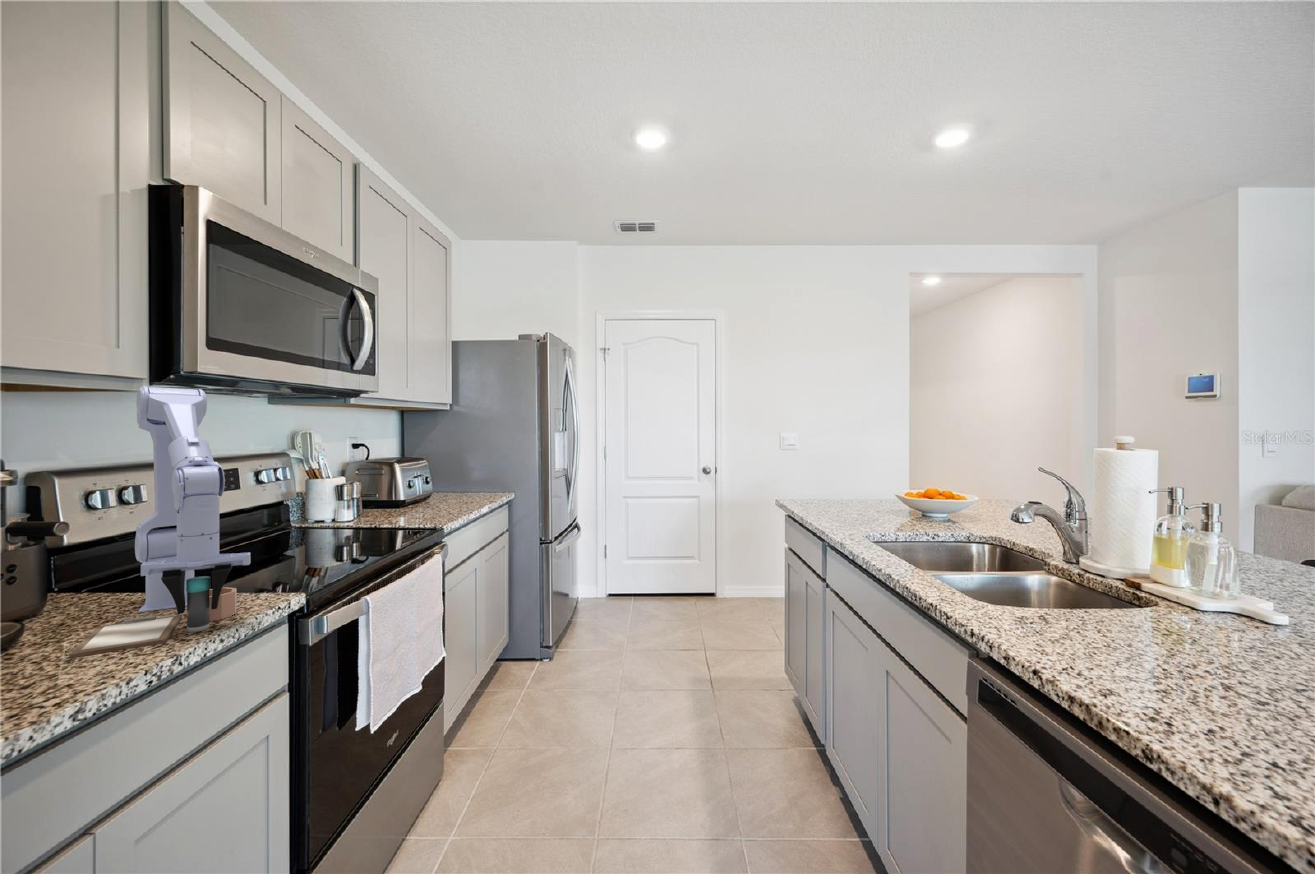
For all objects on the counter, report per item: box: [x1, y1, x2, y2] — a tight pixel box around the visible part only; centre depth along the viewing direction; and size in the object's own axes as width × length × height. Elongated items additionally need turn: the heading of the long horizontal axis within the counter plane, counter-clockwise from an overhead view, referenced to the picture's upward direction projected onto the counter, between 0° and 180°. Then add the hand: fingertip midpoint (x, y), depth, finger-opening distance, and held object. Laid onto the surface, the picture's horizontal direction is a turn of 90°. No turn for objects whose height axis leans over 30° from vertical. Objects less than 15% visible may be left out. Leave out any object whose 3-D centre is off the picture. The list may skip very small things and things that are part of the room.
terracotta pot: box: [209, 586, 238, 622], centre depth 100 cm, size 6×6×4 cm
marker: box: [186, 575, 211, 633], centre depth 93 cm, size 3×3×9 cm
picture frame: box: [68, 614, 183, 659], centre depth 90 cm, size 14×11×1 cm
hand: (198, 610), depth 93 cm, fingers open, 4 cm apart
